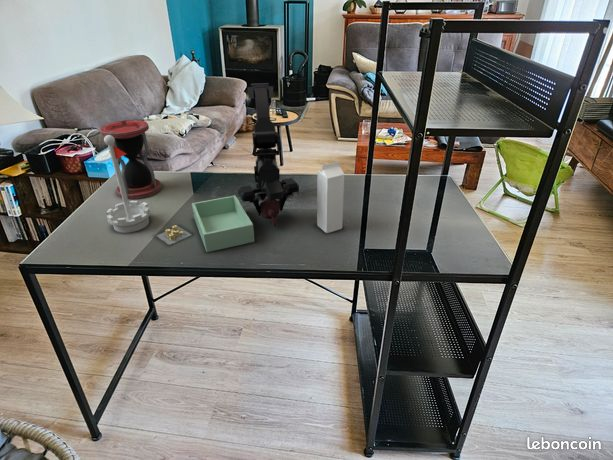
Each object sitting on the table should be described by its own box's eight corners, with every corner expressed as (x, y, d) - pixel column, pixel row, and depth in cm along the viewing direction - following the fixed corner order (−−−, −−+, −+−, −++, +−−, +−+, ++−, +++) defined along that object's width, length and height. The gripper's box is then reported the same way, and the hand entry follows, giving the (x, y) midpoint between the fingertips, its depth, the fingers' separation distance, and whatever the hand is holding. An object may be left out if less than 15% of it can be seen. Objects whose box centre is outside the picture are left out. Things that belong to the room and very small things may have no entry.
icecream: (253, 191, 137) (258, 216, 126) (273, 184, 138) (281, 208, 126) (259, 207, 142) (265, 232, 130) (279, 201, 142) (287, 225, 130)
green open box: (237, 211, 142) (235, 195, 139) (254, 241, 125) (253, 224, 121) (194, 219, 137) (191, 203, 134) (206, 252, 120) (203, 234, 117)
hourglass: (169, 183, 163) (156, 120, 150) (146, 201, 149) (130, 134, 136) (133, 179, 166) (117, 118, 153) (108, 197, 152) (89, 131, 140)
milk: (342, 229, 131) (345, 164, 119) (326, 233, 128) (328, 168, 117) (332, 220, 135) (334, 157, 124) (316, 225, 133) (317, 161, 121)
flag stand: (101, 230, 131) (73, 139, 116) (129, 212, 142) (106, 126, 127) (134, 237, 128) (109, 144, 112) (160, 218, 138) (141, 130, 123)
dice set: (171, 241, 125) (170, 236, 124) (162, 235, 128) (161, 230, 127) (185, 235, 128) (184, 230, 127) (176, 229, 131) (175, 224, 130)
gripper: (244, 183, 117) (249, 230, 125) (305, 173, 123) (305, 218, 131) (235, 170, 126) (240, 214, 134) (291, 160, 132) (293, 203, 140)
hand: (270, 212), depth 135 cm, fingers closed on icecream, 7 cm apart
